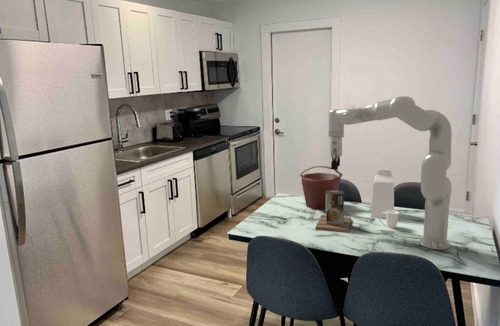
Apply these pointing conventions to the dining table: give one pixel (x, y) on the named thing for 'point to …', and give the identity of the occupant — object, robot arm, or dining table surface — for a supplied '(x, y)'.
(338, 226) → the walnut board
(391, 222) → the cup
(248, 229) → the dining table surface
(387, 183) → the milk
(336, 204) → the coffee box
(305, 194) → the bucket
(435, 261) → the dining table surface
